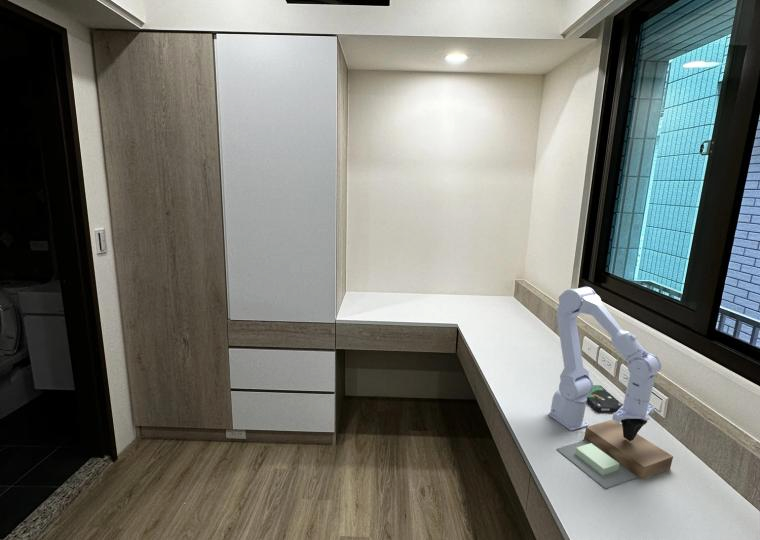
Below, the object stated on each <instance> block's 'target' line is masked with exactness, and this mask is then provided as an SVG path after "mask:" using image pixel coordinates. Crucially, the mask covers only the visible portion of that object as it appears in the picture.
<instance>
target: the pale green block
mask: <svg viewBox="0 0 760 540" xmlns="http://www.w3.org/2000/svg"><path fill="white" fill-rule="evenodd" d="M575 454H576V455H577V456H578V457H580V458H581V459H582V460H584V461H585V462H586V463H587V464H589V465H590V466H591V467H593V468H594V469H595V470H596V471H598V472H599V473H600V474H602V475H605V474H608V473H611V472H614V471H617V470H618V469H619V463H618V462H617V461H615V460H614V459H612V458H611V457H610V456H608V455H607V454H606V453H604V452H603V451H601V450H600V449H599V448H597V447H596V446H594V445H593V444H592V443H590V444H586V445H583V446H580V447H576V450H575Z"/></svg>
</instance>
